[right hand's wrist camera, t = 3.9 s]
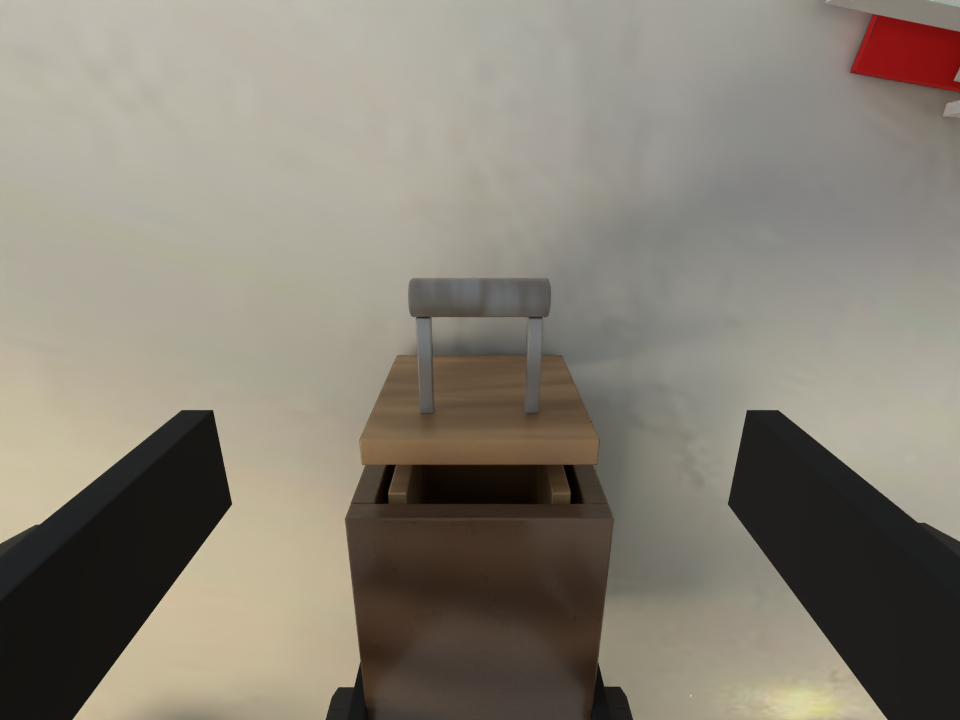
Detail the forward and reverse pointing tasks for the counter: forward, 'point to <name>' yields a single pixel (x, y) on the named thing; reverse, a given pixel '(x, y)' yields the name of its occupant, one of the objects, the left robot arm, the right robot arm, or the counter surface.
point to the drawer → (479, 407)
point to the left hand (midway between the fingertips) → (479, 639)
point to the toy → (911, 43)
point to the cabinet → (479, 603)
